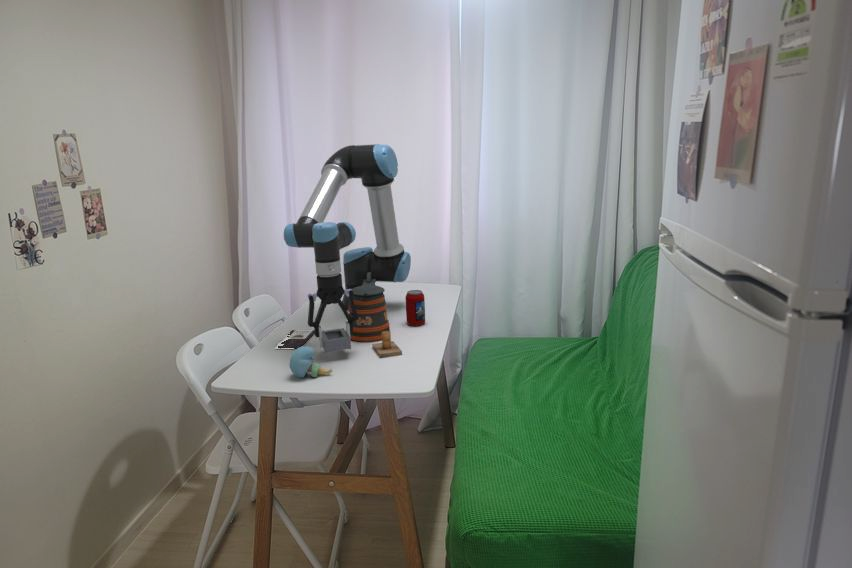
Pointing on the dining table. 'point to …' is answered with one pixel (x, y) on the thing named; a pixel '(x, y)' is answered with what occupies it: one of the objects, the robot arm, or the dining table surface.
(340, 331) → the grey rectangular frame
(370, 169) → the robot arm
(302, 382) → the dining table surface
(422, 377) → the dining table surface
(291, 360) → the blue haired figurine
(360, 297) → the beer stein
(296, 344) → the chocolate bar
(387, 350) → the keeper
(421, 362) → the dining table surface
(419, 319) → the beverage can
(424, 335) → the dining table surface
